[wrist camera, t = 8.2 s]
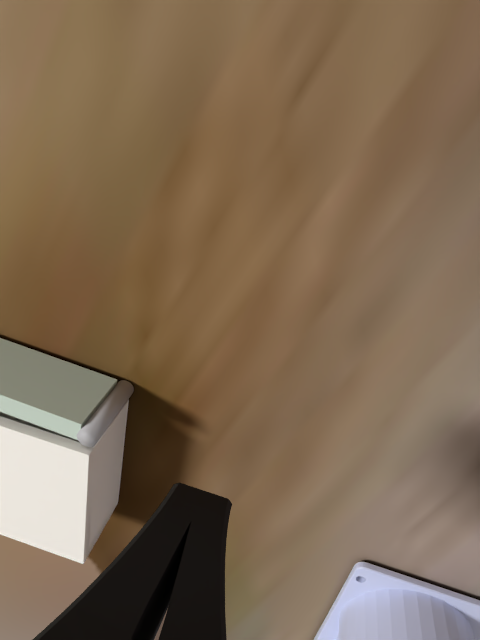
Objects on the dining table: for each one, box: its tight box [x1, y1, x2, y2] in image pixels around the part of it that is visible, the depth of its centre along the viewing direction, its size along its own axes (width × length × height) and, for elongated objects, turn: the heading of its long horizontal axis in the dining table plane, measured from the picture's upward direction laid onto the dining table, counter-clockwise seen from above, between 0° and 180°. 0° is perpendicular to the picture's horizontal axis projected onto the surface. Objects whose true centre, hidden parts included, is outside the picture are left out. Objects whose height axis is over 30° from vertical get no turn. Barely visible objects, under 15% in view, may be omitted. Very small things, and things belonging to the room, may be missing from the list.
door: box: [0, 338, 134, 447], centre depth 21 cm, size 1×11×4 cm, turn 76°
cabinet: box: [0, 400, 129, 564], centre depth 24 cm, size 8×11×4 cm
